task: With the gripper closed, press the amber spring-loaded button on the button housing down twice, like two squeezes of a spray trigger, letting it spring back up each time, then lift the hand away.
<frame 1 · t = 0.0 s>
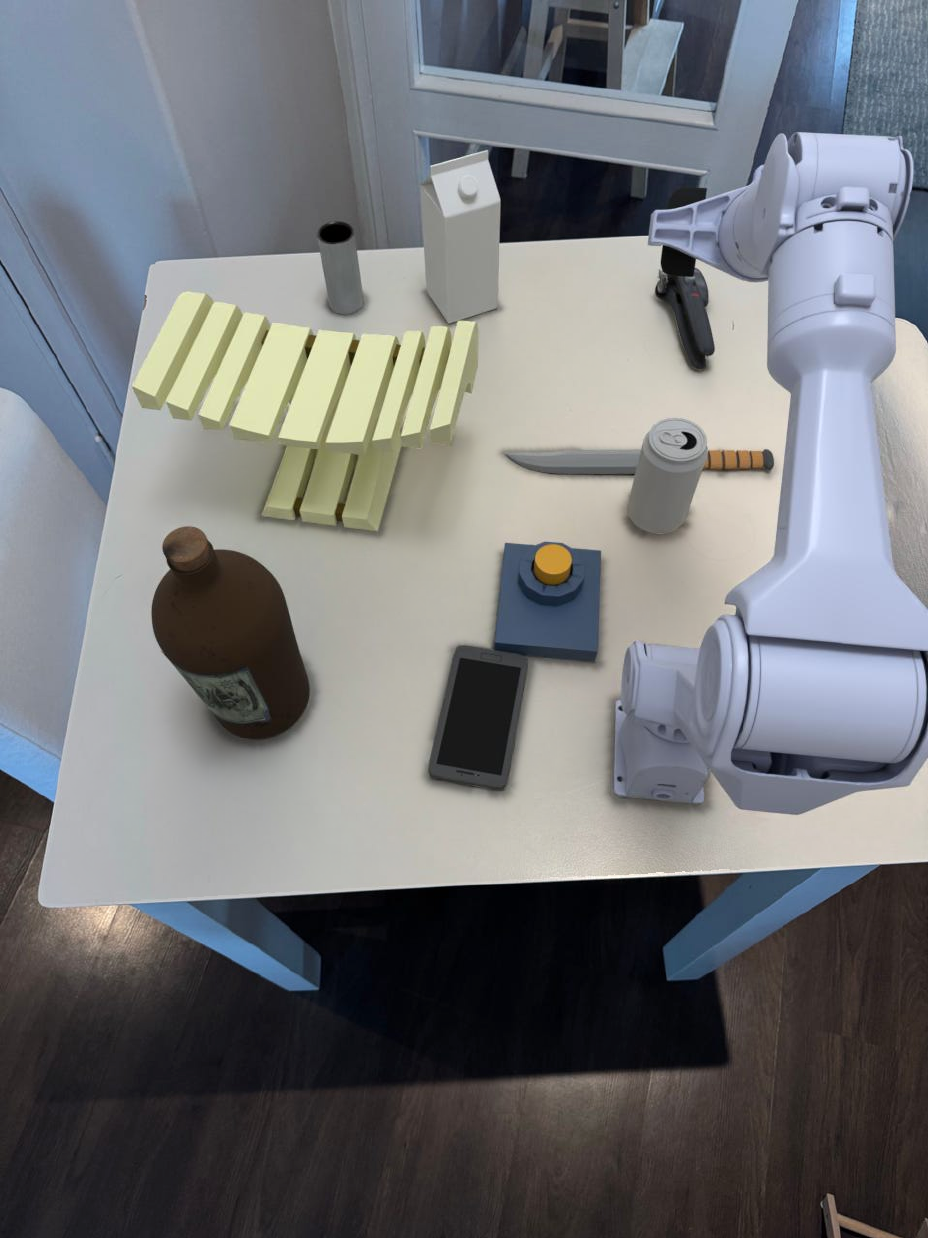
hand: (733, 247, 64), 32 cm above the table, tool tilted 50°, fingers open, 7 cm apart
brown bottle: (261, 696, 81), on the table
cell phone: (479, 716, 79), on the table
beverage can: (655, 515, 92), on the table
knife: (636, 465, 95), on the table
gray cylinder: (346, 304, 110), on the table
slatted curved stool: (337, 469, 96), on the table
button housing: (547, 606, 86), on the table
milk carton: (461, 301, 110), on the table
trigger button: (552, 564, 83), point 5 cm above the table, slide at 0.1 cm
can opener: (684, 326, 107), on the table
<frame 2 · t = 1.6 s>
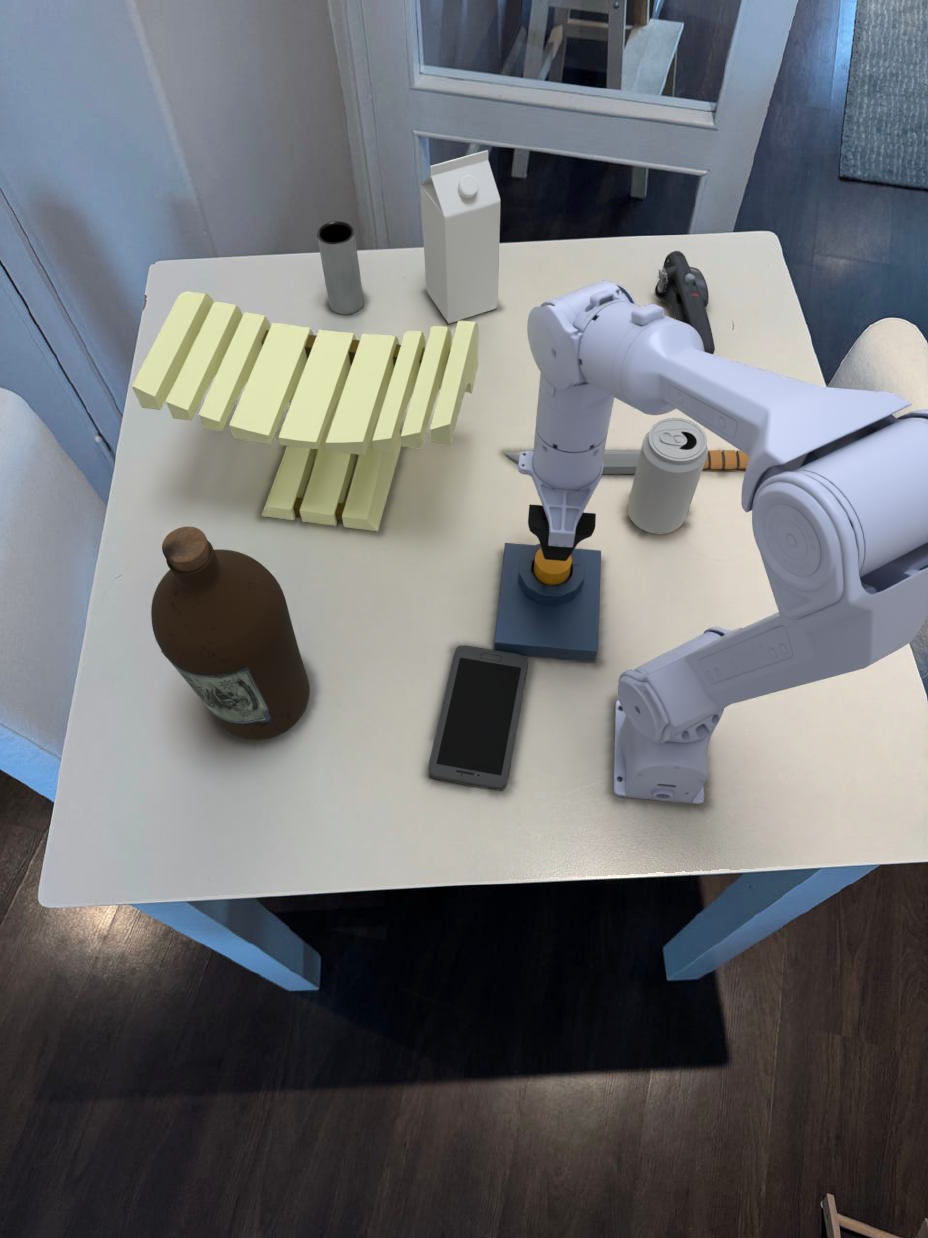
hand: (557, 529, 78), 10 cm above the table, tool pointing down, fingers open, 6 cm apart
nothing on the table moved.
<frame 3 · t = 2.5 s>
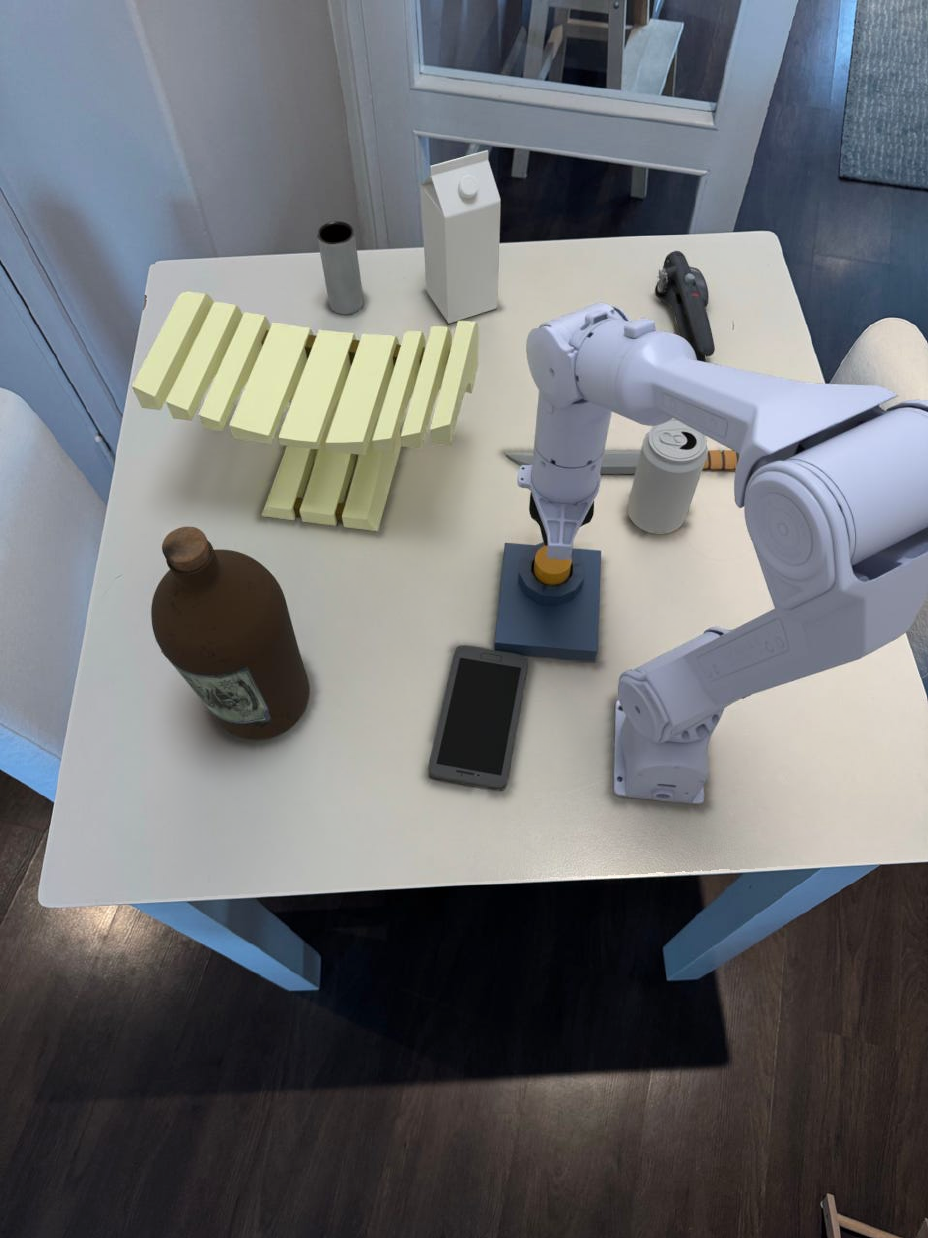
hand: (555, 540, 79), 9 cm above the table, tool pointing down, fingers closed
nothing on the table moved.
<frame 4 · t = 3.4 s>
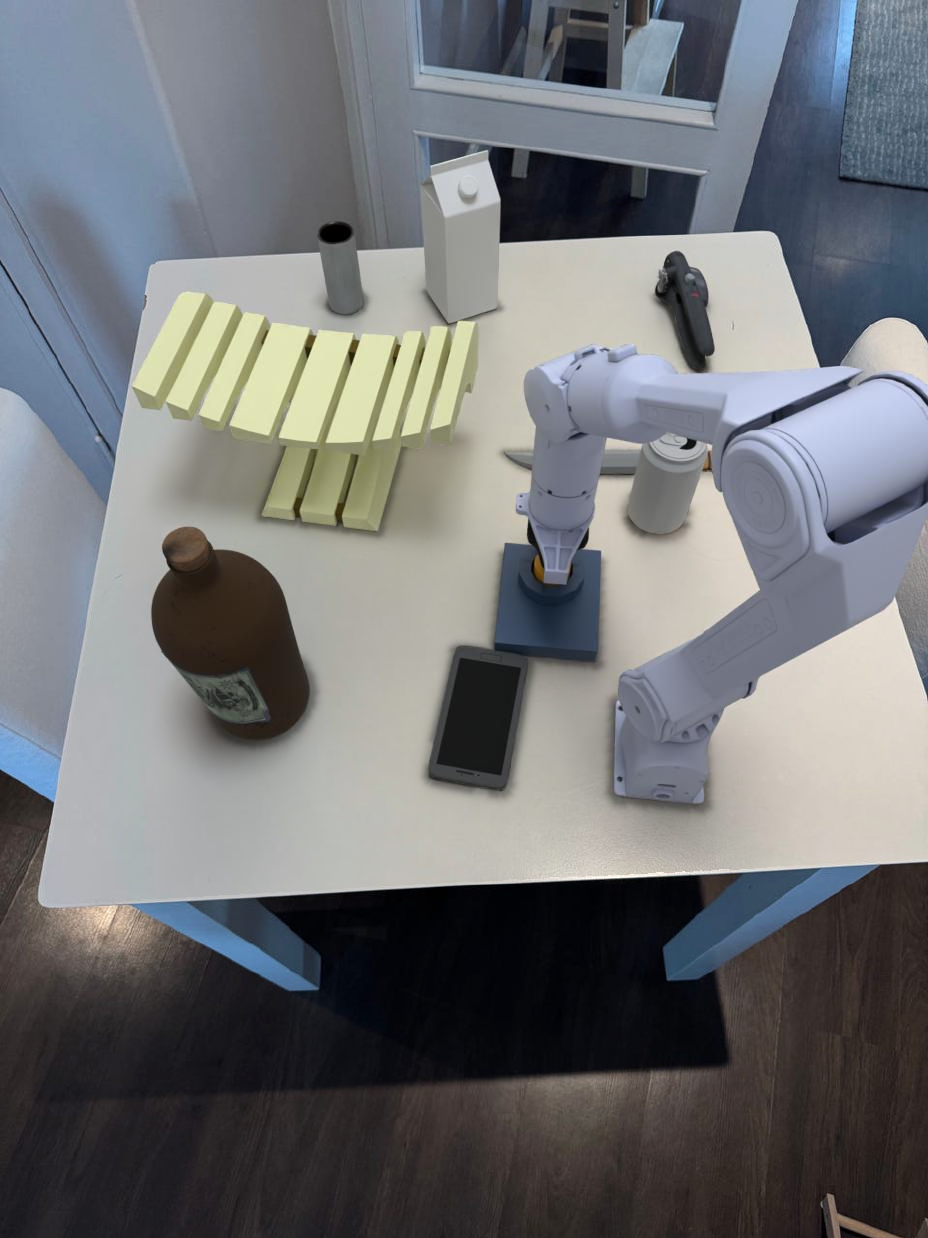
hand: (552, 562, 82), 5 cm above the table, tool pointing down, fingers closed, pressing on trigger button
trigger button: (552, 568, 83), point 4 cm above the table, slide at -0.6 cm, touching gripper
everything else where it was.
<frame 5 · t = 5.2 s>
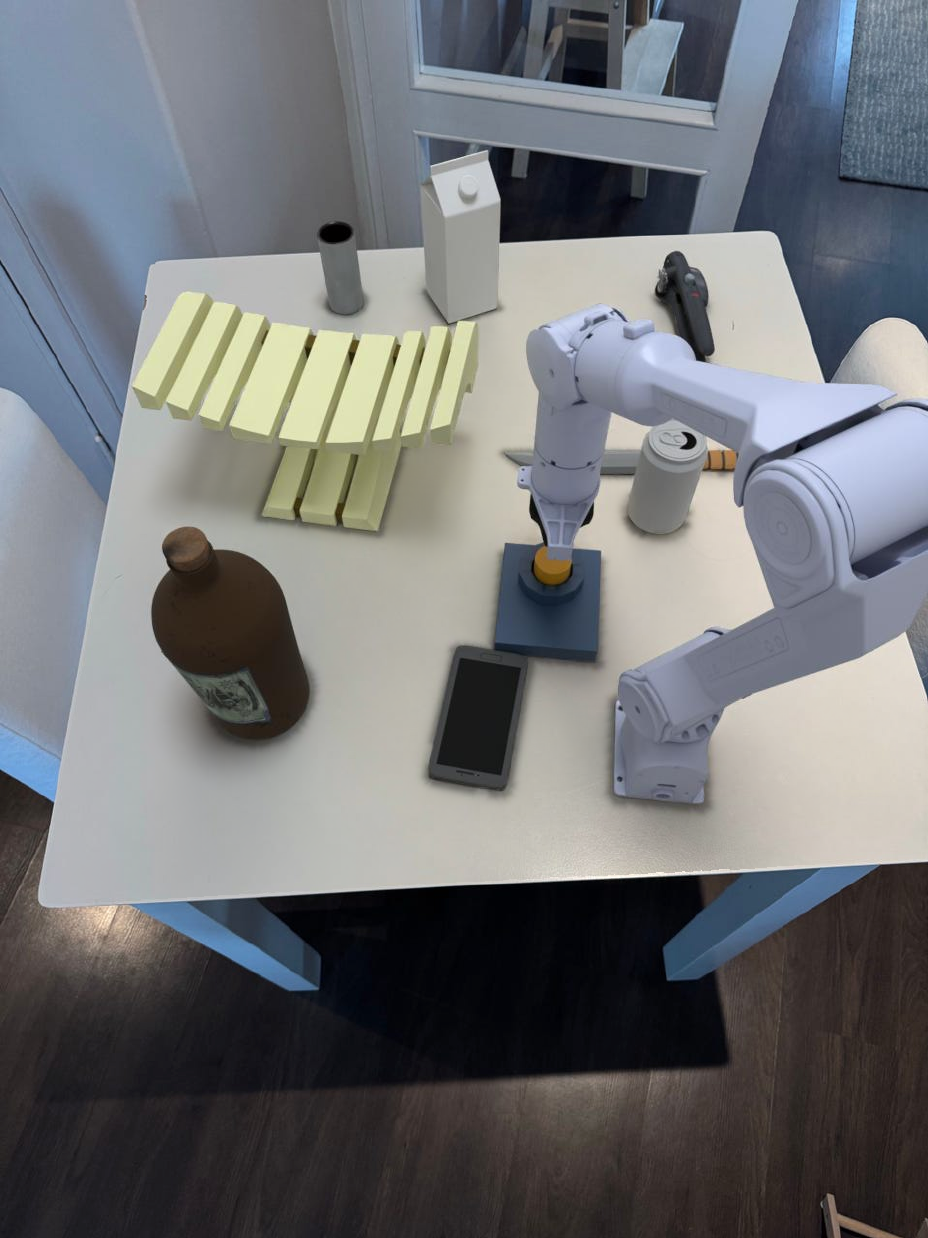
hand: (555, 541, 79), 8 cm above the table, tool pointing down, fingers closed
trigger button: (552, 564, 83), point 5 cm above the table, slide at 0.1 cm
everything else where it was.
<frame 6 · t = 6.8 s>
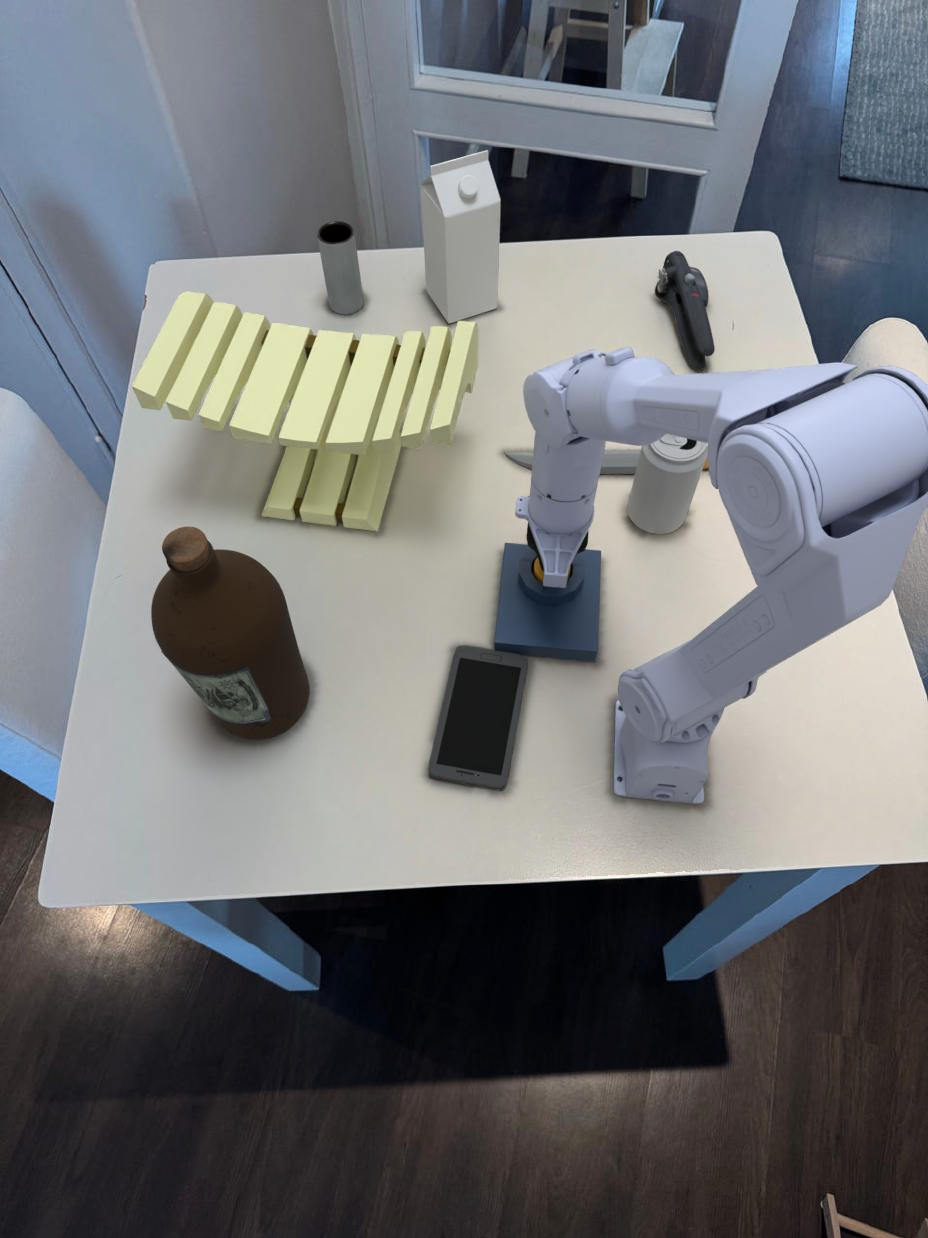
hand: (552, 566, 83), 4 cm above the table, tool pointing down, fingers closed, pressing on trigger button
trigger button: (551, 571, 84), point 3 cm above the table, slide at -1.2 cm, touching gripper
everything else where it was.
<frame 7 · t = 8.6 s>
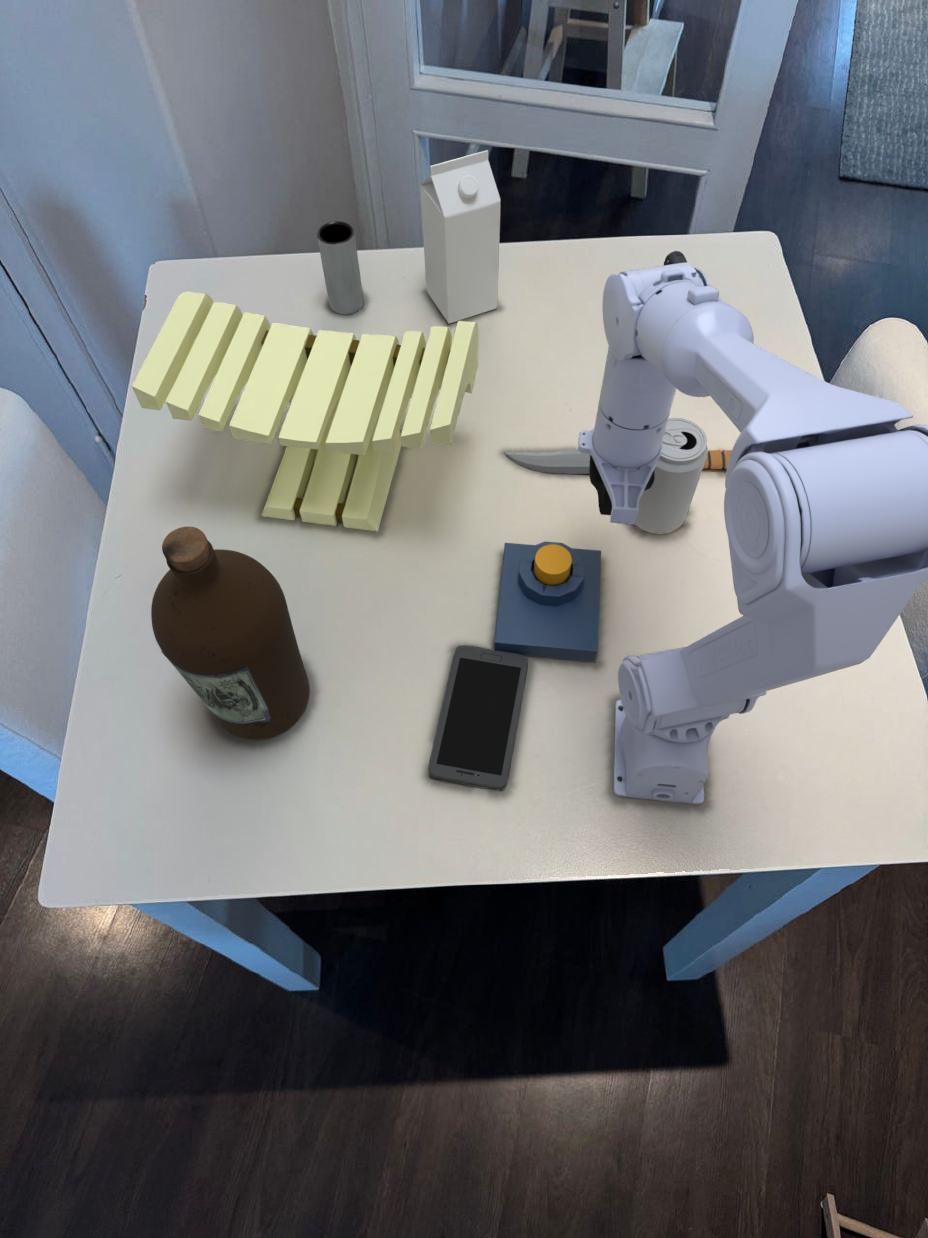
hand: (611, 509, 79), 10 cm above the table, tool pointing down, fingers closed
trigger button: (552, 564, 83), point 5 cm above the table, slide at 0.1 cm
everything else where it was.
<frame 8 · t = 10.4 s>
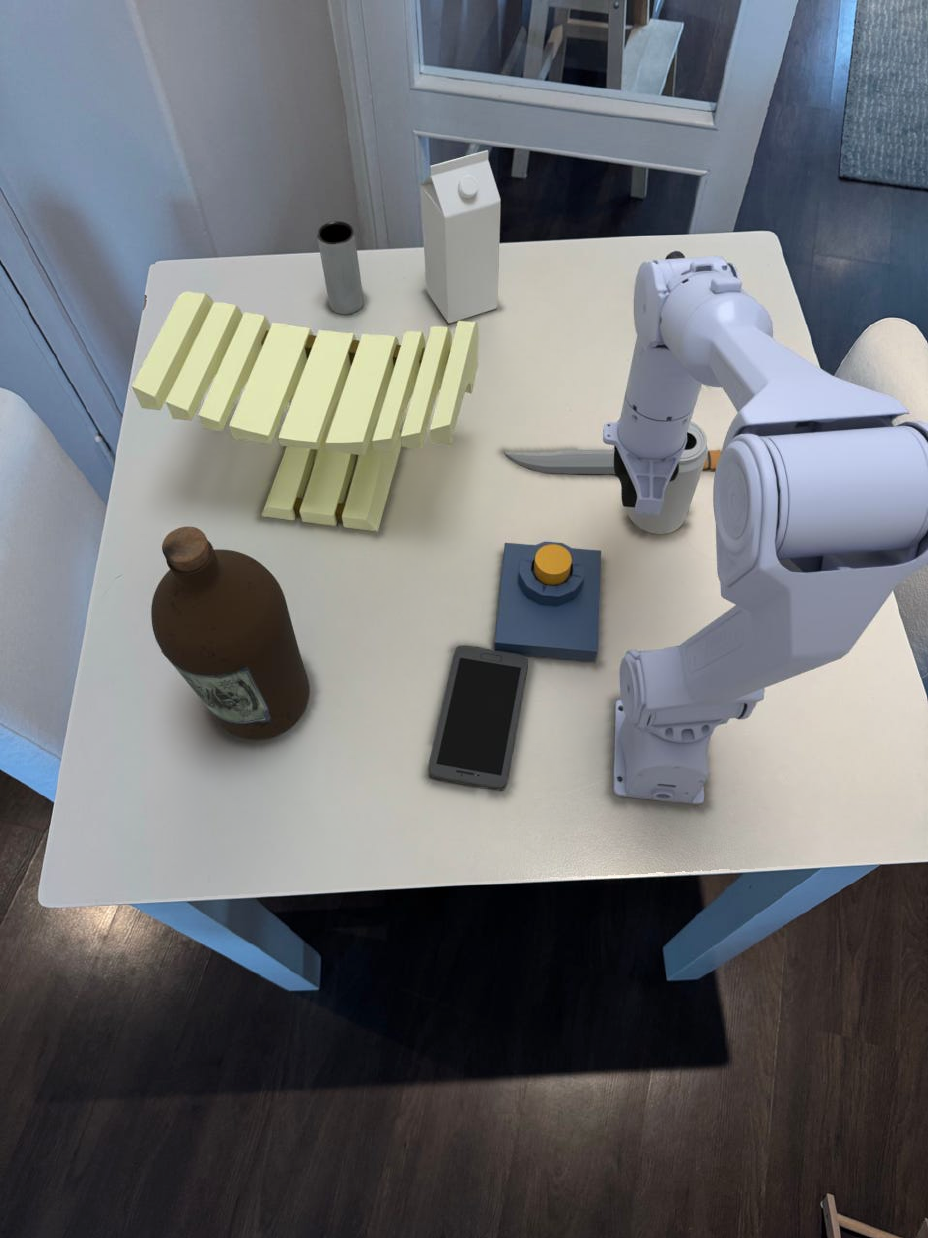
hand: (633, 501, 79), 10 cm above the table, tool pointing down, fingers closed
nothing on the table moved.
at the end: trigger button pushed in 1.2 cm at the most during the clip, back to where it started at the end; trigger button slide at 0.1 cm; gray cylinder moved 0.2 cm from its start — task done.
